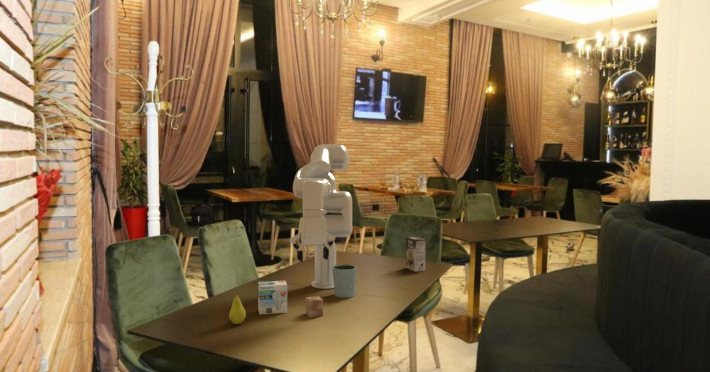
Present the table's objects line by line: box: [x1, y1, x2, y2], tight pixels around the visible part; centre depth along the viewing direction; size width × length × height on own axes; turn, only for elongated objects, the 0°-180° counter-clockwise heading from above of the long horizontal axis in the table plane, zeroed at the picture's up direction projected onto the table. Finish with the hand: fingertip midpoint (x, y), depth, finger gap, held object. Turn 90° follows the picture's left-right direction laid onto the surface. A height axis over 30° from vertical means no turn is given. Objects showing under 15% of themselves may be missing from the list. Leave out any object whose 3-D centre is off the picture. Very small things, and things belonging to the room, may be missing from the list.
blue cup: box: [332, 263, 357, 299], centre depth 215 cm, size 10×10×12 cm
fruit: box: [228, 291, 247, 325], centre depth 179 cm, size 6×6×12 cm
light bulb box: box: [257, 280, 288, 315], centre depth 194 cm, size 11×7×11 cm, turn 105°
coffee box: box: [405, 236, 427, 272], centre depth 261 cm, size 9×6×16 cm
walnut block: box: [305, 295, 324, 318], centre depth 190 cm, size 5×5×6 cm
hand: (313, 260), depth 189 cm, fingers open, 9 cm apart
